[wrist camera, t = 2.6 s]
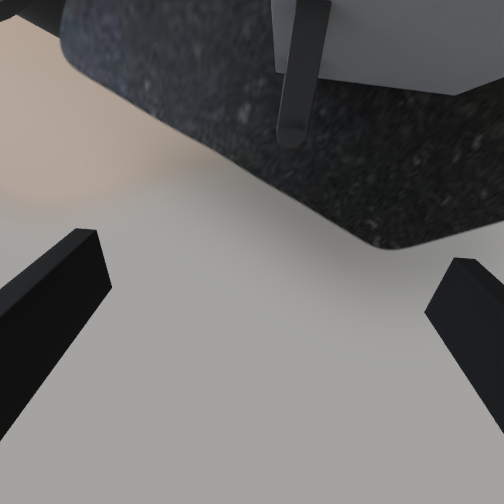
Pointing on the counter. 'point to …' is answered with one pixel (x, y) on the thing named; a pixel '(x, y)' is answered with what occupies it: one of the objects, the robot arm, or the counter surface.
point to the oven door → (381, 49)
